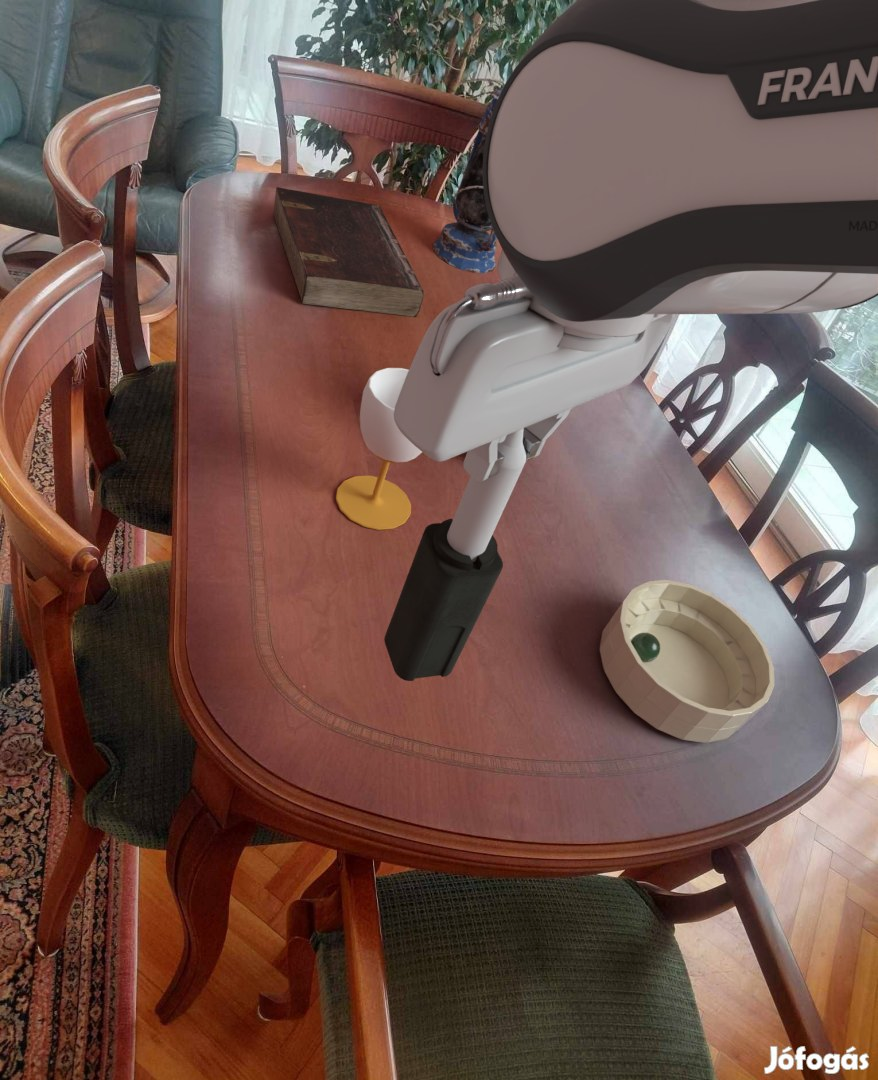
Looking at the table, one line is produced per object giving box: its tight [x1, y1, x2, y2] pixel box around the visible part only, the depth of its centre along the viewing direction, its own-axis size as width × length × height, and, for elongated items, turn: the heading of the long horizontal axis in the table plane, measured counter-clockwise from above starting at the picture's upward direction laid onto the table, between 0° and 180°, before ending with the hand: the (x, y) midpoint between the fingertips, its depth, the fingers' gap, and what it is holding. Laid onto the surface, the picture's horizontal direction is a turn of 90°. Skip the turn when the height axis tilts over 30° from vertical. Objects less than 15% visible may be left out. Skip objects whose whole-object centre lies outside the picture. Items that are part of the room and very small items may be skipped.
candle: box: [383, 428, 527, 682], centre depth 56 cm, size 5×5×25 cm
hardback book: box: [272, 186, 424, 318], centre depth 129 cm, size 29×19×5 cm, turn 17°
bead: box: [631, 632, 660, 662], centre depth 84 cm, size 3×3×3 cm
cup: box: [335, 367, 423, 531], centre depth 86 cm, size 9×9×16 cm
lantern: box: [432, 89, 502, 274], centre depth 136 cm, size 15×12×30 cm
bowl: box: [599, 579, 775, 744], centre depth 83 cm, size 17×17×6 cm
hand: (500, 463), depth 50 cm, fingers closed on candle, 3 cm apart
